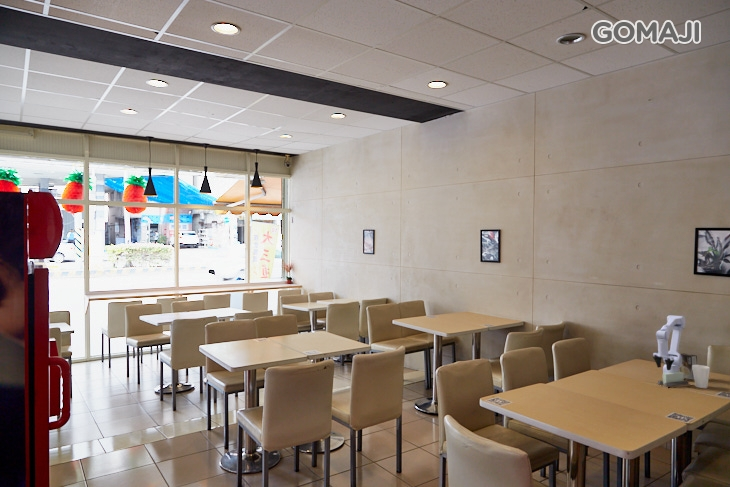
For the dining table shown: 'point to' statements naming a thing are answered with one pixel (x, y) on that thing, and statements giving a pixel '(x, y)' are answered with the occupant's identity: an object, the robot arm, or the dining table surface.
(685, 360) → the coffee box
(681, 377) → the door panel
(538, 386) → the dining table surface
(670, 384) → the bottom track
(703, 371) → the foam cup
